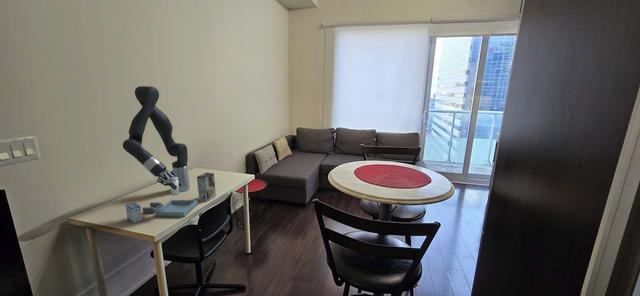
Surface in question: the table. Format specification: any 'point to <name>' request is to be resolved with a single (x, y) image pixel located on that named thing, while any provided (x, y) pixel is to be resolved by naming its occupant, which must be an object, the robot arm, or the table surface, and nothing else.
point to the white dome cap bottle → (175, 181)
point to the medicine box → (134, 212)
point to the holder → (152, 207)
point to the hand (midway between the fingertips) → (178, 187)
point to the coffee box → (206, 186)
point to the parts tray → (176, 208)
